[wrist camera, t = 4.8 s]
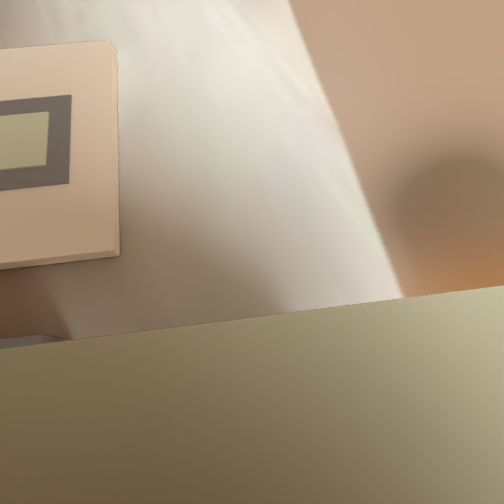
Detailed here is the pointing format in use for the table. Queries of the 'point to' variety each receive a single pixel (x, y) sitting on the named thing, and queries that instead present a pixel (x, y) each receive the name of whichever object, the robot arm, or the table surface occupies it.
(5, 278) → the table surface
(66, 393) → the sage block
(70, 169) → the card
